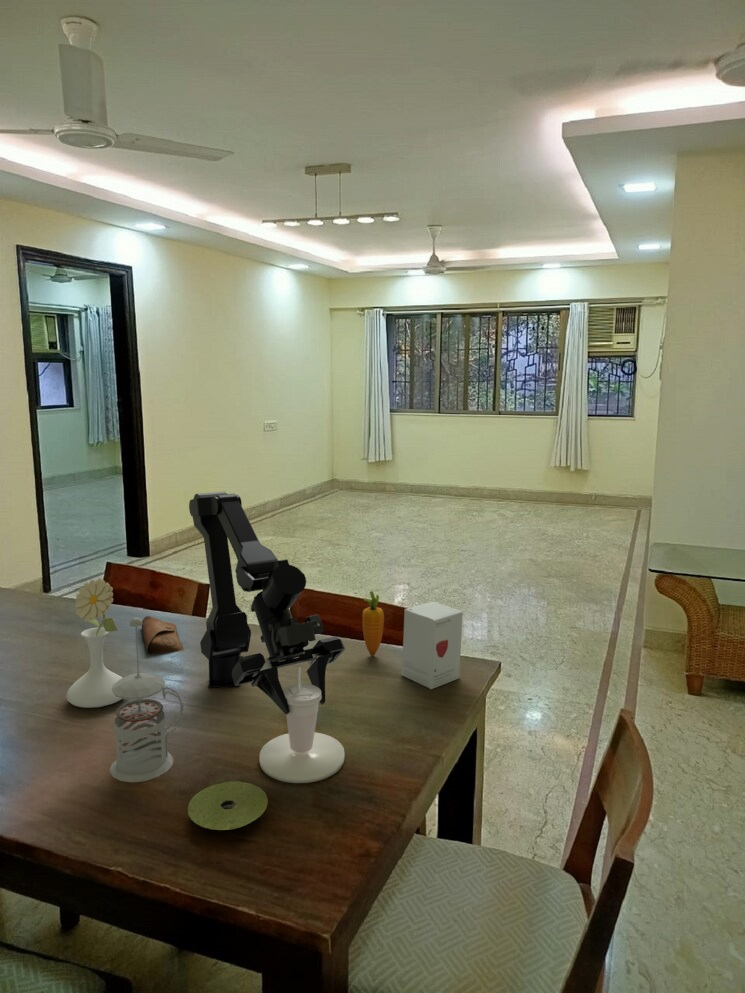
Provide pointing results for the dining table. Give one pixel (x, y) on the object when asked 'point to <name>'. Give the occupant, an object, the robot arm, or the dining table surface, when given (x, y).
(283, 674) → the dining table surface
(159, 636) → the sunglasses case
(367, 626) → the carrot
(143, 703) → the french press
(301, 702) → the smoothie
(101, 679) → the flower in vase
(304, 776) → the plate
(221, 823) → the green disc
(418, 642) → the supplement box
